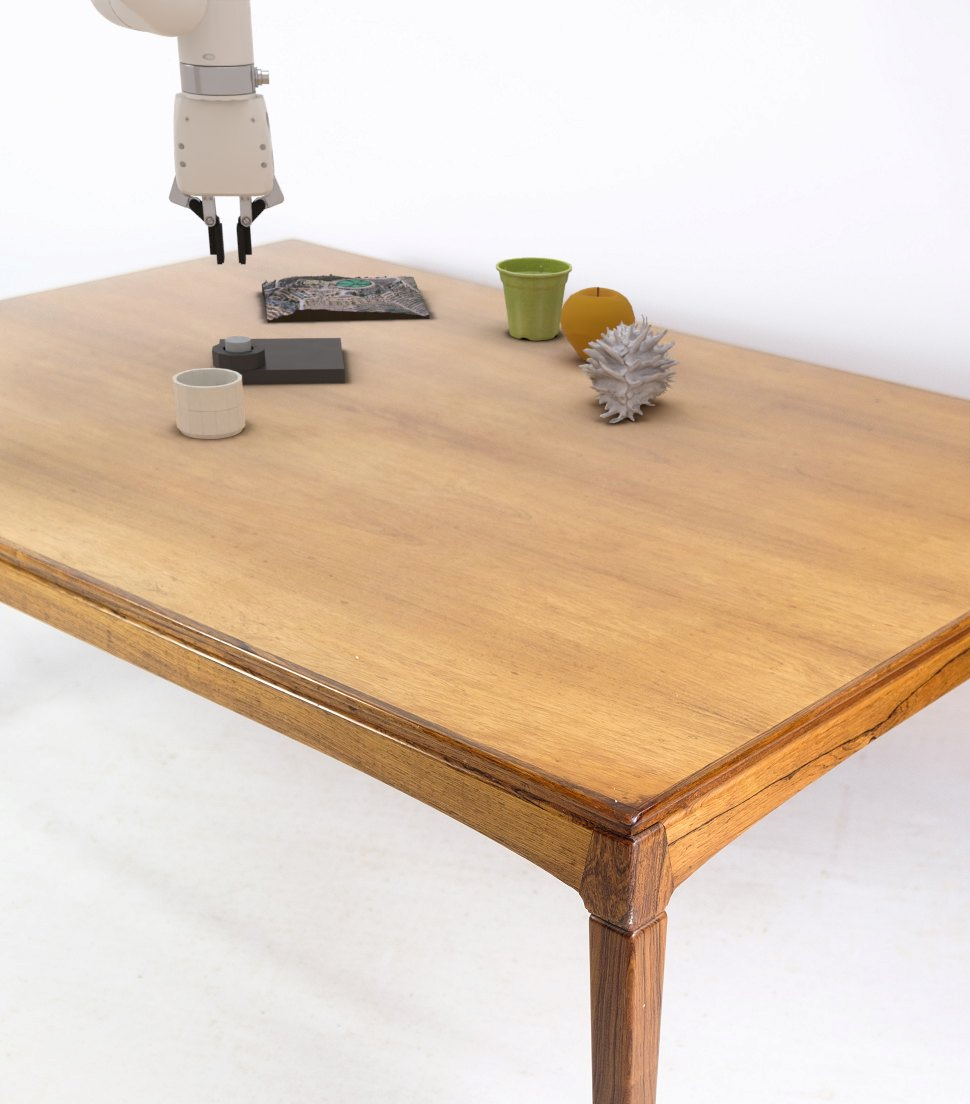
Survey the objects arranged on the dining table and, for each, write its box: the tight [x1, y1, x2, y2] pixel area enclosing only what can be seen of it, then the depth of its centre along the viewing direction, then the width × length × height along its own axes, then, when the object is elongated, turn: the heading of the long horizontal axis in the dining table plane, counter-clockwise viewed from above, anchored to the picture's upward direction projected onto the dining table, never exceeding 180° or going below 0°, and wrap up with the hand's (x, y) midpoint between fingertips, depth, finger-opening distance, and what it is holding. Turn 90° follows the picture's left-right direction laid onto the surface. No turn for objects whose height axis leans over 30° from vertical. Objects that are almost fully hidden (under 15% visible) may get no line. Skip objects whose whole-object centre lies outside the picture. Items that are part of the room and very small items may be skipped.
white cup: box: [171, 367, 246, 440], centre depth 166 cm, size 7×7×6 cm
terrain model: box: [261, 273, 430, 324], centre depth 212 cm, size 20×15×3 cm
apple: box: [560, 286, 636, 364], centre depth 193 cm, size 9×9×9 cm
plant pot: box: [495, 256, 573, 342], centre depth 202 cm, size 9×9×9 cm
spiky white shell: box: [578, 314, 681, 424], centre depth 177 cm, size 12×11×12 cm
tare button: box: [224, 335, 252, 352], centre depth 181 cm, size 3×3×1 cm
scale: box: [211, 337, 346, 386], centre depth 186 cm, size 14×13×4 cm
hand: (231, 260), depth 177 cm, fingers closed
